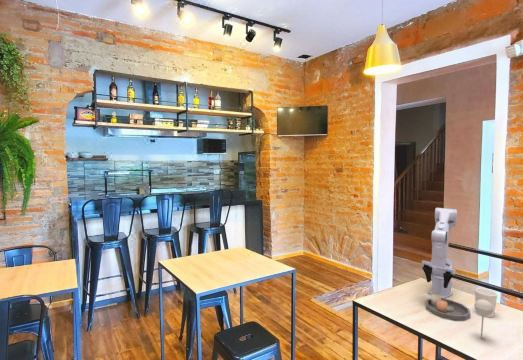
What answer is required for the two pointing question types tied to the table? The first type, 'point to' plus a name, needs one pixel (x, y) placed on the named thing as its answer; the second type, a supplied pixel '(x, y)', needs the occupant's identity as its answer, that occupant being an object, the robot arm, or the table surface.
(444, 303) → the bead terracotta
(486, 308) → the lollipop
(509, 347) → the table surface
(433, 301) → the bead cream
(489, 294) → the white cup
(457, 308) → the groove tray
